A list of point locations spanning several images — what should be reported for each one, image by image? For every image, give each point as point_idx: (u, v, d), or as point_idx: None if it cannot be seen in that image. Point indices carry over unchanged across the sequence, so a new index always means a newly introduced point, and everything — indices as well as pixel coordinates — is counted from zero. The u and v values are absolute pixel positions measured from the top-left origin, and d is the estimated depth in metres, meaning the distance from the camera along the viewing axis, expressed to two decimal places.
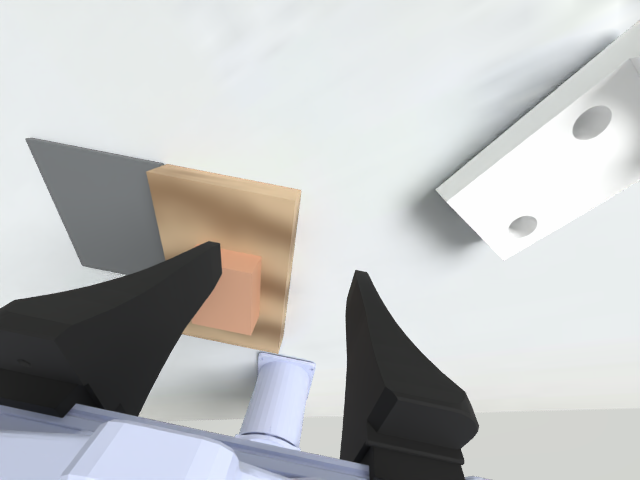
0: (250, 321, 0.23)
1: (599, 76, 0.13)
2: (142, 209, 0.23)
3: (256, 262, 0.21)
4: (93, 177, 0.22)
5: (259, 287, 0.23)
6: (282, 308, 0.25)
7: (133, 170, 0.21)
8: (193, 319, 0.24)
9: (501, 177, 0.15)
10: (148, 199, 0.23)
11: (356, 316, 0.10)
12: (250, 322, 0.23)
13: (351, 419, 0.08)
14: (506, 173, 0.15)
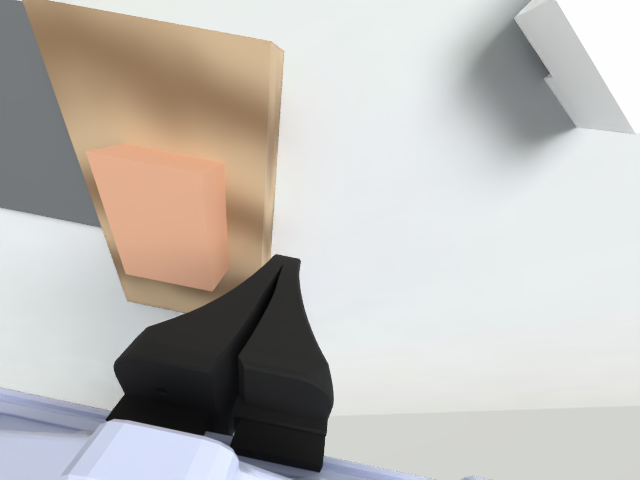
0: (209, 266, 0.15)
1: None
2: (49, 100, 0.15)
3: (213, 165, 0.13)
4: None
5: (224, 218, 0.16)
6: (260, 255, 0.17)
7: (21, 23, 0.14)
8: (126, 266, 0.16)
9: None
10: None
11: None
12: (209, 268, 0.15)
13: None
14: None
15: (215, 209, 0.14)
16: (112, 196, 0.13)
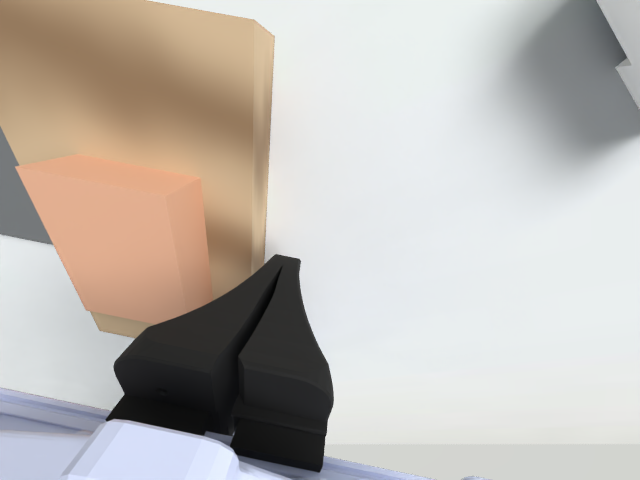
0: (184, 304, 0.12)
1: None
2: None
3: (185, 182, 0.11)
4: None
5: (203, 243, 0.13)
6: None
7: None
8: (85, 302, 0.13)
9: None
10: None
11: None
12: (185, 306, 0.12)
13: None
14: None
15: (190, 236, 0.11)
16: (57, 222, 0.10)
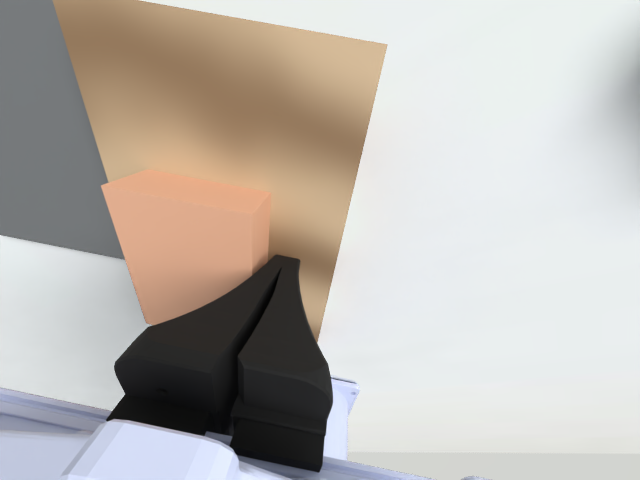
0: None
1: None
2: (75, 117, 0.13)
3: (261, 198, 0.11)
4: None
5: (266, 256, 0.13)
6: (325, 300, 0.14)
7: (43, 22, 0.11)
8: (147, 315, 0.13)
9: None
10: None
11: None
12: None
13: None
14: None
15: (260, 251, 0.11)
16: (133, 238, 0.10)
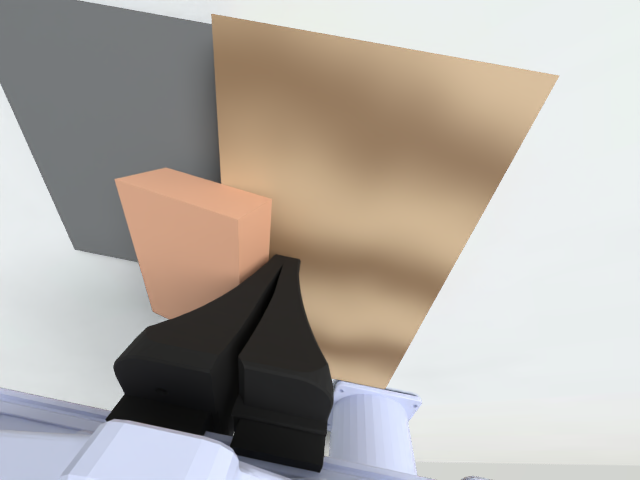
0: None
1: None
2: (183, 138, 0.13)
3: (257, 204, 0.10)
4: (92, 69, 0.11)
5: None
6: (421, 319, 0.14)
7: (172, 46, 0.11)
8: (153, 304, 0.14)
9: None
10: (196, 114, 0.12)
11: None
12: None
13: None
14: None
15: (254, 258, 0.11)
16: (140, 231, 0.11)
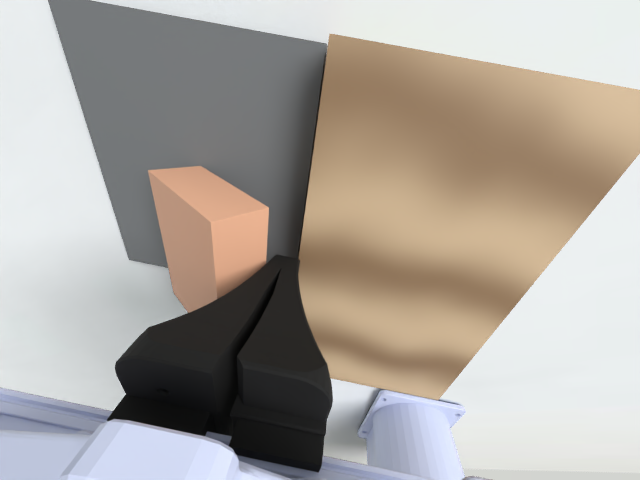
0: None
1: None
2: (261, 151, 0.12)
3: (247, 210, 0.10)
4: (177, 83, 0.11)
5: None
6: (490, 332, 0.14)
7: (264, 61, 0.10)
8: (173, 287, 0.15)
9: None
10: (278, 129, 0.12)
11: None
12: None
13: None
14: None
15: (240, 265, 0.10)
16: (162, 219, 0.12)
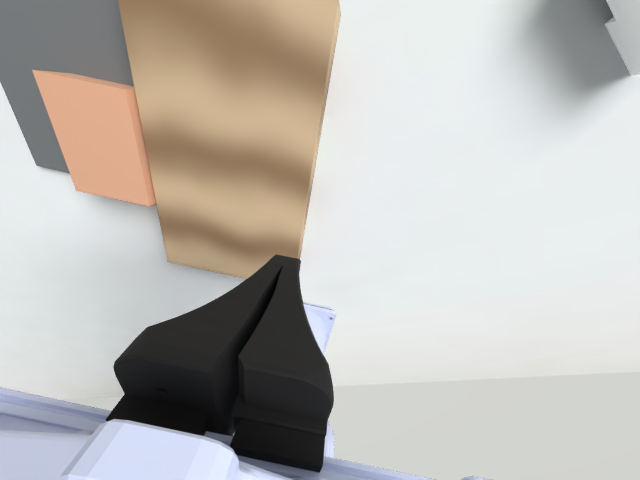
0: (143, 181, 0.18)
1: None
2: (112, 60, 0.16)
3: None
4: (39, 1, 0.15)
5: None
6: (303, 213, 0.19)
7: None
8: (75, 182, 0.19)
9: None
10: (119, 39, 0.16)
11: None
12: (144, 183, 0.18)
13: None
14: None
15: None
16: (57, 112, 0.16)
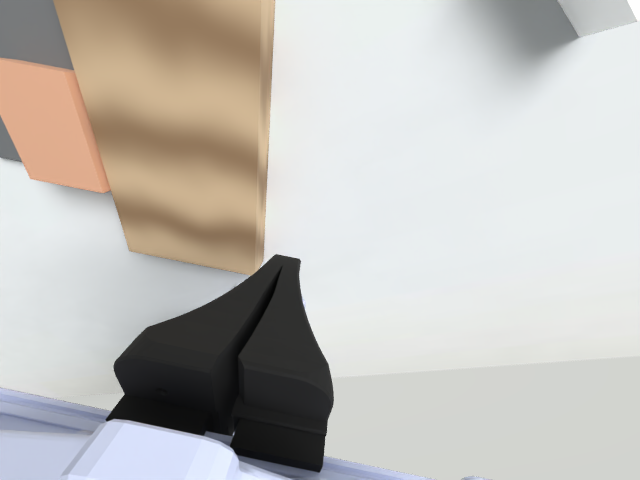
0: (94, 167, 0.18)
1: None
2: (56, 44, 0.16)
3: None
4: None
5: None
6: (255, 196, 0.18)
7: None
8: (29, 170, 0.19)
9: None
10: None
11: None
12: (94, 169, 0.18)
13: None
14: None
15: None
16: (1, 98, 0.16)
